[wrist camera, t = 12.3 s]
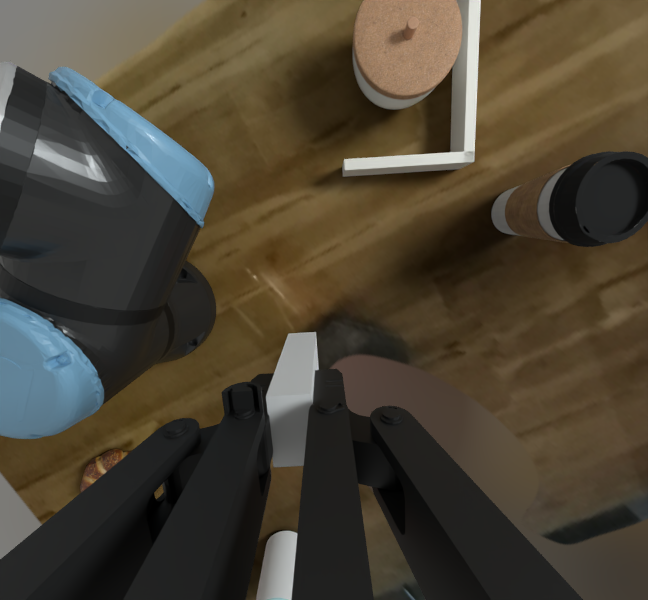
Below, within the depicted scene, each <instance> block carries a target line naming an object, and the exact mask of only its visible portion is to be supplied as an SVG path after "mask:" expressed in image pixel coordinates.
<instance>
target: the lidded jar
mask: <svg viewBox="0 0 648 600" xmlns="http://www.w3.org/2000/svg"><path fill="white" fill-rule="evenodd" d="M461 40H462V19H461V14H460V10H459V6H458V4H457V2H456V0H363V2H362V3H361V5H360V8H359V10H358V13H357V16H356V20H355V24H354V32H353V50H352V55H353V68H354V73H355V77H356V80H357V83H358V85H359V87H360V89H361V91H362V92H363V93H364V95H365V96H366V97H367V98H368V99H369V100H370V101H371V102H373V103H374V104H375V105H377V106H379V107H382V108H385V109H392V110H397V109H404V108H407V107H410V106H412V105H414V104H416V103H418V102H419V101H421V100H422V99H424V98H425V97H426V96H427V95H428V94H429V93H431V92H432V91H433V90H434V88H435V87H436V86H437V85H438V84H439V83H440V82H441V81H442V80H443V79H444V78H445V77H446V75H447V74H448V73H449V71H450V70H451V68H452V66H453V65H454V63H455V60H456V58H457V56H458V53H459V50H460V46H461Z"/></svg>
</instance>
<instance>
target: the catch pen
mask: <svg viewBox="0 0 648 600" xmlns="http://www.w3.org/2000/svg"><path fill="white" fill-rule="evenodd" d="M456 2H457V4H458V6H459V10H460V14H461V19H462V40H461V46H460V50H459V53H458V56H457V58H456V60H455V63H454V65H453V66H452V105H451V146H450V152H448V153H433V154H417V155H402V156H387V157H372V158H357V159H344V162H343V166H342V173H343V177H346V176H362V175H377V174H393V173H408V172H423V171H439V170H454V169H461V168H463V167H465V166H467V165H469V164H471V163H473V162H474V153H475V128H476V103H477V78H478V53H479V28H480V3H481V0H456Z"/></svg>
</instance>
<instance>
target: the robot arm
mask: <svg viewBox="0 0 648 600" xmlns="http://www.w3.org/2000/svg"><path fill="white" fill-rule="evenodd" d="M49 80H51V81H52V83H51V84H50V83H48V82H46V81H44V80H42V79H40V78H38V77H36V76H35V75H33V74H31V73H29V72H27V71H25V70H24V69H22V68H20V67H18V66H17V65H15V64H13V63H11V62H1V63H0V435H1V436H6V437H11V438H19V439H35V438H41V437H43V436H52V435H55V434H58V433H60V432H62V431H64V430H66V429H68V428H69V427H71V426H73V425H74V424H76V423H78V422H79V421H81V420H83V419H84V418H86V417H89V416H90V415H92V414H94V413H95V412H96V411H98V410H99V408H100V406H102V405H103V404H104V403H106V402H107V401H108V400H109V399H111V398H112V397H113V396H115V395H116V394H117V393H118V392H120V391H121V390H122V389H124V388H125V387H126V386H127V385H129V384H130V383H131V382H133V381H134V380H135V379H136V378H138V377H139V376H140V375H142V374H143V373H144V372H145V371H147V370H148V369H149V368H151V367H152V366H153V365H154V364H157V363H162V362H167V361H172V360H176V359H179V358H182V357H184V356H186V355H188V354H189V353H191V352H192V351H194V350H195V349H196V348H197V347H198V346H200V345H201V344H202V343H203V342H204V341H205V340H206V338H207V337H208V336H209V334H210V332H211V330H212V328H213V326H214V322H215V317H216V303H215V298H214V294H213V291H212V289H211V287H210V285H209V283H208V281H207V280H206V278H205V277H204V276H203V275H202V273H201V272H200V271H199V270H198V269H197V268H196V267H194V266H193V265H192V264H190V263H189V262H187V261H186V259H187V257H188V254H189V252H190V250H191V248H192V246H193V243H194V241H195V239H196V237H197V235H198V232H199V230H200V228H203V226H204V221H203V219H204V217H205V214H206V211H207V209H208V206H209V204H210V201H211V198H212V196H213V193H214V181H213V178H212V176H211V174H210V172H209V171H208V169H207V168H206V167H205V166H204V165H203V164H202V163H201V162H200V161H199V160H197V159H196V158H195V157H194V156H193V155H192V154H190V153H189V152H188V151H187V150H185V149H184V148H183V147H182V146H180V145H179V144H178V143H176V142H175V141H174V140H173V139H171V138H170V137H169V136H167V135H166V134H165V133H163V132H162V131H161V130H159V129H158V128H157V127H155V126H154V125H153V124H151V123H150V122H148V121H147V120H146V119H144V118H143V117H142V116H140V115H139V114H137V113H136V112H135V111H133V110H132V109H130V108H129V107H127V106H126V105H125V104H123V103H122V102H120V101H118V100H116V99H114V98H113V97H112V96H111V95H110V94H108V93H107V92H105V91H103V90H102V89H100V88H99V87H98V86H97V85H95V84H94V83H93V82H91V81H90V80H88V79H87V78H85V77H84V76H82V75H80V74H79V73H77V72H75V71H74V70H72V69H70V68H67V67H58V68H57V69H56V70H55V71H54V72H50V73H49ZM222 399H223V406H224V412H225V415H224V417H223V419H222V421H221V423H220V424H217V425H214V426H210V427H206V428H202V429H200V428H199V423H198V422H197V421H196V420H195V419H191V418H182V419H177V420H174V421H172V422H170V423H167V424H165V425H164V426H162V427H161V428H159V429H158V430H157V431H156V432H154V433H153V434H152V435H151V436H149V437H148V438H147V439H146V440H145V441H143V442H142V443H141V444H140V445H139V446H137V447H136V448H135V449H134V450H132V451H131V452H130V453H129V454H128V455H126V456H125V457H124V458H123V459H122V460H120V461H119V462H118V463H117V464H116V465H114V466H113V467H112V468H111V469H109V470H108V471H107V472H106V473H105V474H103V475H102V476H101V477H100V478H99V479H97V480H96V481H95V482H94V483H92V484H91V485H90V486H89V487H88V488H86V489H85V490H84V491H83V492H82V493H80V494H79V495H78V496H77V497H76V498H74V499H73V500H72V501H71V502H69V503H68V504H67V505H66V506H65V507H63V508H62V509H61V510H60V511H59V512H57V513H56V514H55V515H54V516H52V517H51V518H50V519H49V520H48V521H46V522H45V523H44V524H43V525H42V526H40V527H39V528H38V529H37V530H36V531H34V532H33V533H32V534H31V535H30V536H28V537H27V538H26V539H25V540H23V541H22V542H21V543H20V544H19V545H17V546H16V547H15V548H14V549H13V550H11V551H10V552H9V553H8V554H7V555H5V556H4V557H3V558H2V559H0V600H245V599H246V595H247V590H248V585H249V581H250V576H251V571H252V567H253V562H254V557H255V553H256V548H257V543H258V538H259V534H260V529H261V524H262V520H263V515H264V510H265V506H266V501H267V496H268V492H269V487H270V482H271V469H270V463H271V459H272V456H273V465H274V467H287V466H304V468H303V478H302V489H301V500H300V511H299V522H298V533H297V544H296V555H295V566H294V577H293V588H292V598H291V600H374V599H373V591H372V584H371V576H370V569H369V561H368V554H367V546H366V539H365V532H364V524H363V517H362V509H361V502H360V494H359V487H358V483H359V484H363V485H367V486H372V488H373V492H374V495H375V497H376V499H377V501H378V503H379V505H380V507H381V509H382V511H383V513H384V515H385V517H386V519H387V521H388V524H389V526H390V528H391V530H392V532H393V534H394V536H395V538H396V540H397V542H398V544H399V546H400V548H401V550H402V552H403V554H404V556H405V558H406V560H407V562H408V564H409V566H410V568H411V570H412V573H413V575H414V577H415V579H416V581H417V583H418V585H419V587H420V589H421V591H422V593H423V595H424V597H425V599H426V600H583V599H582V598H581V597H580V596H579V595H578V594H577V593H576V592H575V591H574V589H573V588H572V587H571V586H570V585H569V584H568V583H567V582H566V581H565V580H564V579H563V578H562V576H561V575H560V574H559V573H558V572H557V571H556V570H555V569H554V568H553V567H552V566H551V565H550V563H549V562H548V561H547V560H546V559H545V558H544V557H543V556H542V555H541V554H540V553H539V552H538V551H537V550H536V548H535V547H534V546H533V545H532V544H531V543H530V542H529V541H528V540H527V539H526V538H525V537H524V536H523V534H522V533H521V532H520V531H519V530H518V529H517V528H516V527H515V526H514V525H513V524H512V523H511V521H510V520H509V519H508V518H507V517H506V516H505V515H504V514H503V513H502V512H501V511H500V510H499V509H498V507H497V506H496V505H495V504H494V503H493V502H492V501H491V500H490V499H489V498H488V497H487V496H486V495H485V493H484V492H483V491H482V490H481V489H480V488H479V487H478V486H477V485H476V484H475V483H474V482H473V480H472V479H471V478H470V477H469V476H468V475H467V474H466V473H465V472H464V471H463V470H462V469H461V468H460V467H459V466H458V464H457V463H456V462H455V461H454V460H453V459H452V458H451V457H450V456H449V455H448V453H447V452H446V451H445V450H444V449H443V448H442V447H441V446H440V445H439V444H438V443H437V442H436V441H435V439H434V438H433V437H432V436H431V435H430V434H429V433H428V432H427V431H426V430H425V429H424V428H423V427H422V425H421V424H420V423H418V421H417V420H416V419H415V418H414V417H413V416H412V415H411V414H410V413H409V412H408V411H406V410H405V409H402V408H399V407H396V406H382V407H380V408H377V409H375V410H374V411H373V412H372V413H371V415H370V417H365V416H360V415H357V414H355V413H353V412H351V411H350V410H349V409H348V407H347V405H346V399H345V392H344V384H343V377H342V373H341V372H340V371H339V370H337V369H327V370H319V369H318V355H317V340H316V332H308V333H291V334H288V337H287V339H286V342H285V345H284V348H283V350H282V353H281V356H280V359H279V361H278V364H277V367H276V370H275V373H272V374H259V375H257V376H256V377H255V378H254V379H252V380H251V382H242V383H237V384H234V385H231V386H229V387H228V388H226V389H225V390H224V391H223V392H222ZM161 484H162V486H163V490H164V493H163V494H162V495H161V496H160V497H159V498H158V499H155V496H154V492H155V491H156V490H157V489H158V488H159V487H160V485H161Z"/></svg>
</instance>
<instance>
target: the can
mask: <svg viewBox="0 0 648 600" xmlns="http://www.w3.org/2000/svg"><path fill="white" fill-rule="evenodd" d="M296 544H297V533H295V532H292V531H280V532H277V533H275V534H273V535H272V536H271V537H270V538H269V539H268V541H267V544H266V548H265V554H264V559H263V565H262V570H261V575H260V581H259V586H258V591H257V597H256V600H291V598H292V588H293V577H294V566H295V555H296Z"/></svg>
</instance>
